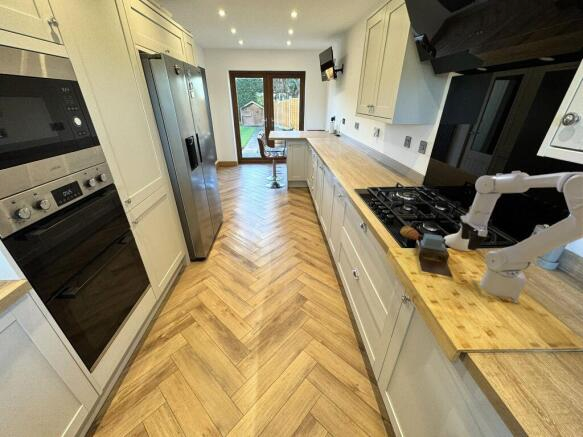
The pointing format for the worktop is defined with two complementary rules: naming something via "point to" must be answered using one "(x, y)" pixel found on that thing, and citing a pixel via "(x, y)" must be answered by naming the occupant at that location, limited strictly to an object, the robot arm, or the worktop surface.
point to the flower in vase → (457, 240)
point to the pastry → (409, 233)
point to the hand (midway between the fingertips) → (467, 243)
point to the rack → (433, 265)
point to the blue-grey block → (433, 242)
